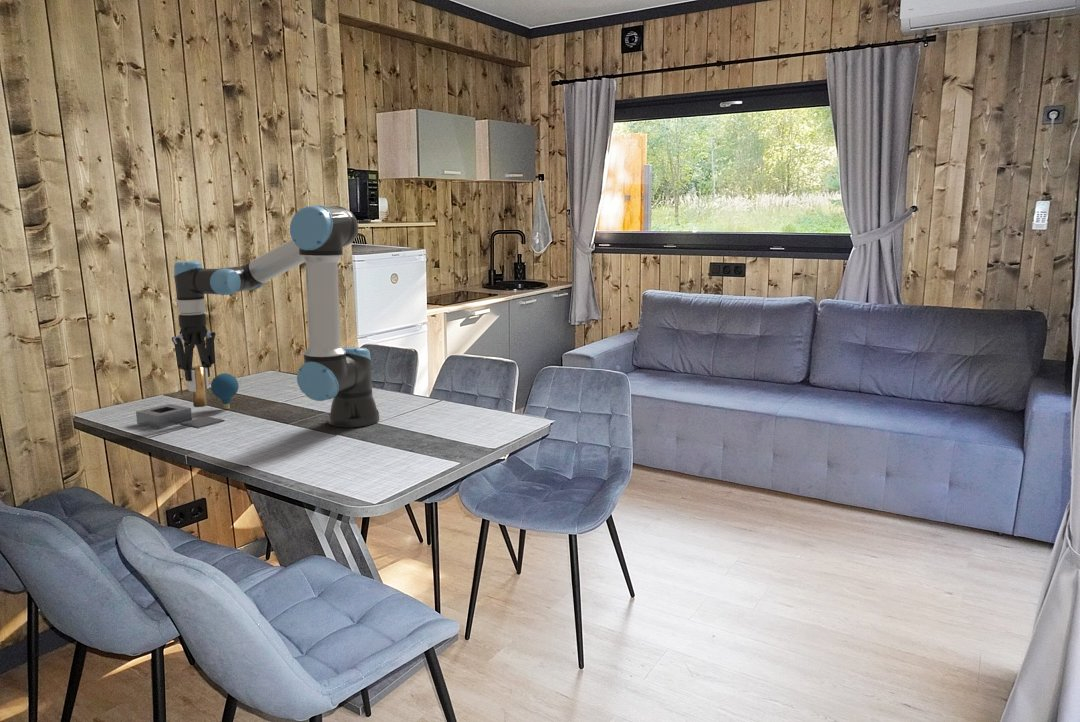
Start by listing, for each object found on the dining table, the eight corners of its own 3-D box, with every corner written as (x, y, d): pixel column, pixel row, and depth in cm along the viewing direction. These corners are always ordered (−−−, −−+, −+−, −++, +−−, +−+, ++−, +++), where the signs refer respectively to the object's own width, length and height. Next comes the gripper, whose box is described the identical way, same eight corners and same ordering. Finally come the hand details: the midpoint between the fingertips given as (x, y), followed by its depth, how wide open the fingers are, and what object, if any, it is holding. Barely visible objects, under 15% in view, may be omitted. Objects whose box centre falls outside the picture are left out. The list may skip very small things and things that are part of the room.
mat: (224, 421, 234) (224, 419, 234) (198, 428, 227) (198, 426, 227) (206, 417, 239) (205, 416, 239) (180, 424, 231) (179, 422, 231)
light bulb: (222, 413, 243) (218, 377, 241) (208, 410, 248) (204, 374, 246) (245, 408, 250) (242, 372, 247) (231, 405, 255) (228, 370, 252)
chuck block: (192, 420, 235) (191, 408, 235) (159, 429, 226) (157, 416, 225) (170, 416, 241) (169, 403, 240) (137, 424, 231) (135, 411, 231)
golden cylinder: (201, 403, 234) (198, 365, 232) (209, 405, 233) (206, 366, 230) (190, 406, 231) (187, 367, 229) (198, 407, 229) (195, 369, 227)
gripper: (208, 309, 235) (214, 383, 240) (158, 315, 221) (165, 393, 226) (224, 311, 232) (230, 385, 236) (174, 317, 218) (181, 396, 222)
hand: (198, 389), depth 231 cm, fingers closed on golden cylinder, 4 cm apart
